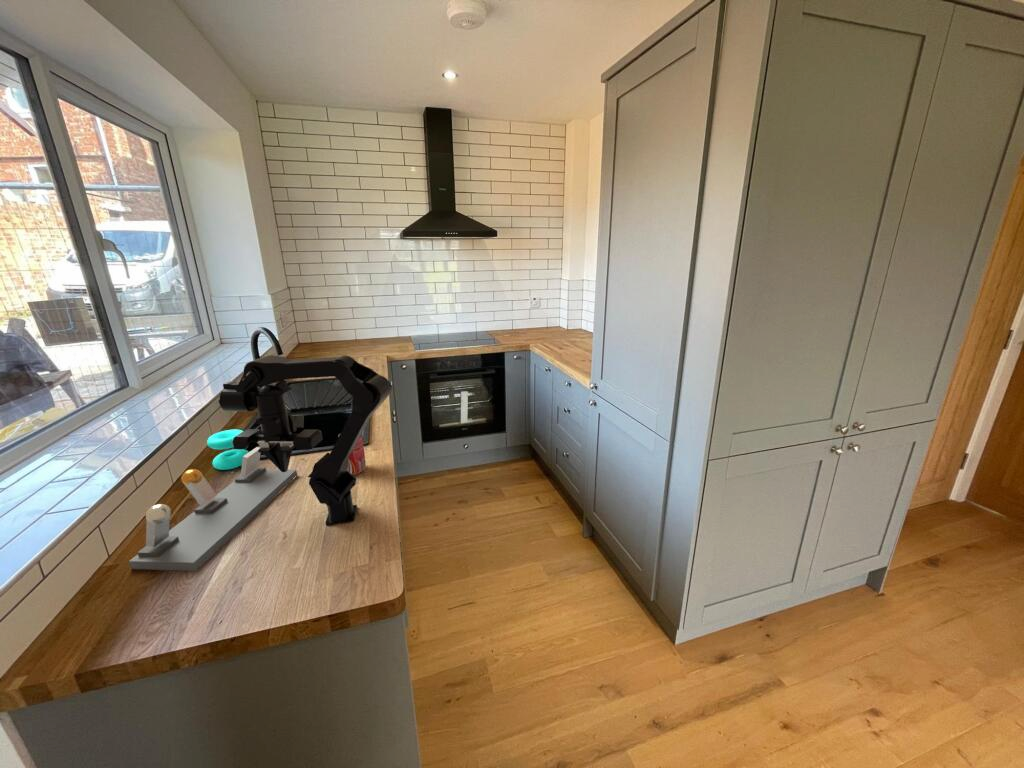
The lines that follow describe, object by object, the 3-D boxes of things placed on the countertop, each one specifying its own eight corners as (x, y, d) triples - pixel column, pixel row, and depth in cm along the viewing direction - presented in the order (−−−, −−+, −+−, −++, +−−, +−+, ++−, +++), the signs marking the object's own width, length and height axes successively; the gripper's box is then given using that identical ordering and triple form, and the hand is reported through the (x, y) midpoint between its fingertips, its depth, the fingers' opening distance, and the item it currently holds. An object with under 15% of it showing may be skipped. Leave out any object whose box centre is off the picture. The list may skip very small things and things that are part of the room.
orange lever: (221, 493, 103) (199, 463, 101) (209, 502, 99) (186, 472, 97) (208, 498, 104) (187, 469, 102) (196, 507, 100) (173, 477, 98)
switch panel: (297, 475, 120) (295, 466, 119) (196, 570, 84) (192, 558, 83) (251, 475, 121) (249, 466, 120) (131, 569, 85) (127, 557, 84)
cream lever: (174, 536, 89) (176, 503, 87) (158, 549, 86) (160, 514, 83) (156, 531, 89) (157, 497, 86) (139, 544, 85) (140, 509, 83)
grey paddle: (258, 465, 119) (261, 447, 117) (245, 476, 113) (247, 457, 111) (254, 464, 119) (257, 446, 117) (240, 475, 113) (242, 456, 111)
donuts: (197, 439, 122) (227, 426, 131) (205, 469, 125) (234, 454, 134) (224, 442, 120) (252, 429, 129) (231, 473, 123) (259, 457, 132)
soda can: (340, 468, 124) (335, 432, 121) (365, 463, 127) (360, 427, 123) (342, 479, 118) (336, 441, 114) (367, 473, 121) (362, 436, 117)
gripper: (328, 399, 101) (337, 456, 106) (255, 399, 102) (268, 455, 107) (304, 416, 91) (316, 478, 95) (223, 416, 92) (238, 477, 96)
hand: (284, 471), depth 99 cm, fingers closed
